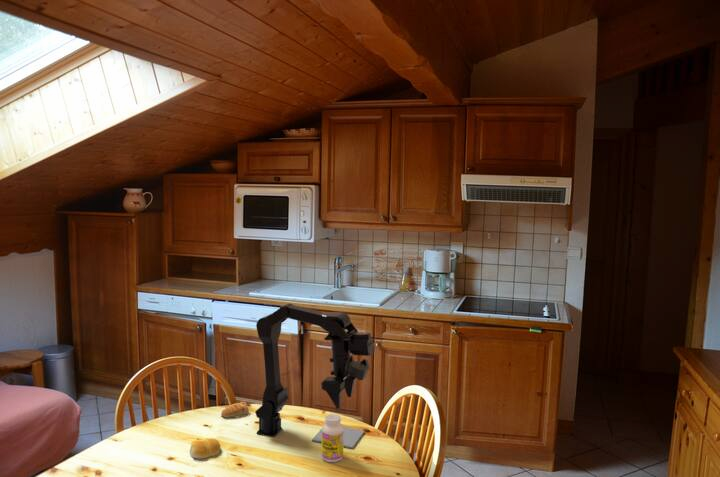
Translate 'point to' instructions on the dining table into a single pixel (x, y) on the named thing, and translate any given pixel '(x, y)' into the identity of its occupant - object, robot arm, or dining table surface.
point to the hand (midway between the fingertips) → (343, 402)
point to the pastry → (235, 410)
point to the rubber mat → (349, 437)
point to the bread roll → (204, 448)
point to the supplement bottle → (332, 438)
